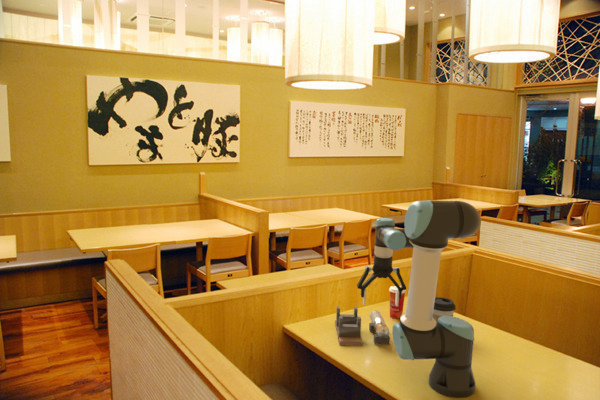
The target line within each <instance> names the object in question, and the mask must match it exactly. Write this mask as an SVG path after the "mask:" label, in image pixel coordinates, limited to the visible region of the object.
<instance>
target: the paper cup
mask: <svg viewBox="0 0 600 400" xmlns="http://www.w3.org/2000/svg"><path fill="white" fill-rule="evenodd" d="M399 286H400V287H401V286H402V285H399ZM396 289H398V288H397V287H396V286H395V285H391V286H390V287H389V289H388V291H389V317H390V318H391V317H392V318H391V319H394V318H396V319H395V320H400V319H399V318H400V317H401V315H402V314H404V313H403V311H404V305H405V304H404V303H405V295H406V292H407V290H402V293H401V298H399V302H398V307H396V305H395V297H396Z"/></svg>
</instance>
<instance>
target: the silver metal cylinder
mask: <svg viewBox="0 0 600 400" xmlns="http://www.w3.org/2000/svg"><path fill="white" fill-rule="evenodd" d="M369 318H370V320H371V323H373V326H374V328H375V331H376V332H375V334H377V335H378V337H379V338H382V339H384V338H386V337H388V335H389V336H390V328H389V327H388V326H387V324H386V321H385V320H384V317H383V315H382V313H381V311H379V310H373V311H371V312H370V313H369Z"/></svg>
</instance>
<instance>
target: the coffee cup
mask: <svg viewBox="0 0 600 400" xmlns="http://www.w3.org/2000/svg"><path fill="white" fill-rule="evenodd" d="M456 309H457V307H456V304H455V302H454V301H453V300H452V299H450V298H447V297H441V296H435V302H434V310H433V318H434V319H435V321H436V323H437V322H438V319H439V317H441V316H452V317H454V312H455V311H456Z"/></svg>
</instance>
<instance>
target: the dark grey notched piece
mask: <svg viewBox="0 0 600 400" xmlns="http://www.w3.org/2000/svg"><path fill="white" fill-rule="evenodd" d="M358 310H359V309H358V307H357V306H354V308H353V314H345V313H344V314H342V313H341V306H336V312H335V313H336V318H335V320H334V326H335V329H336V335H337V340H338V344H339V346H362V344H363V340H362V337H361V333H362V332H361V331H362V330H361V329H362V325H361V324H362V317H361V316H359V315H358V313H359V312H358Z"/></svg>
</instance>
